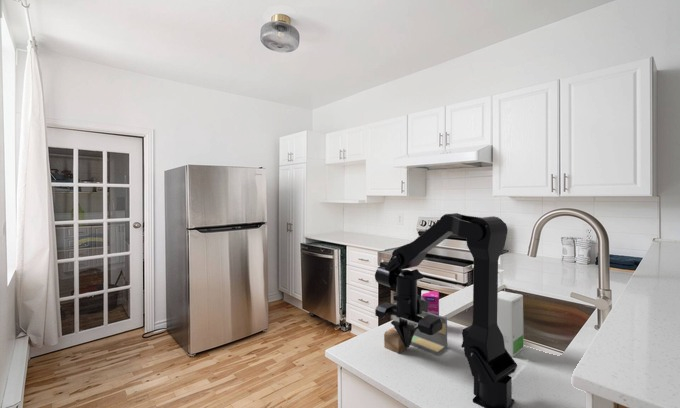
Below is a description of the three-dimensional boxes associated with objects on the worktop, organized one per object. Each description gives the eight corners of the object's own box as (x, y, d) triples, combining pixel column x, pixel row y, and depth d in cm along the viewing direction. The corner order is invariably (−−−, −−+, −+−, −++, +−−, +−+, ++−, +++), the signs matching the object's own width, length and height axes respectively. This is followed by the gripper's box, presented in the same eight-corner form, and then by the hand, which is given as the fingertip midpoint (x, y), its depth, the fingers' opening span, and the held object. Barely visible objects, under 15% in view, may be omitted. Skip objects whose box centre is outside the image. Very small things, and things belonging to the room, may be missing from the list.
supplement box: (420, 329, 102) (420, 295, 101) (421, 322, 107) (421, 289, 107) (439, 331, 100) (439, 296, 100) (439, 324, 106) (438, 290, 105)
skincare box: (512, 358, 83) (512, 301, 83) (487, 349, 88) (487, 295, 88) (524, 348, 89) (524, 294, 88) (500, 339, 94) (500, 289, 93)
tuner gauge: (447, 348, 89) (447, 317, 89) (436, 356, 85) (436, 324, 85) (396, 329, 102) (395, 302, 102) (384, 335, 98) (384, 307, 98)
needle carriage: (410, 346, 90) (410, 332, 90) (398, 353, 86) (398, 339, 86) (396, 340, 94) (396, 327, 94) (384, 347, 90) (384, 333, 90)
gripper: (452, 292, 85) (452, 348, 85) (396, 279, 98) (397, 327, 99) (431, 303, 77) (431, 364, 78) (373, 287, 91) (374, 339, 91)
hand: (407, 347), depth 87 cm, fingers closed
